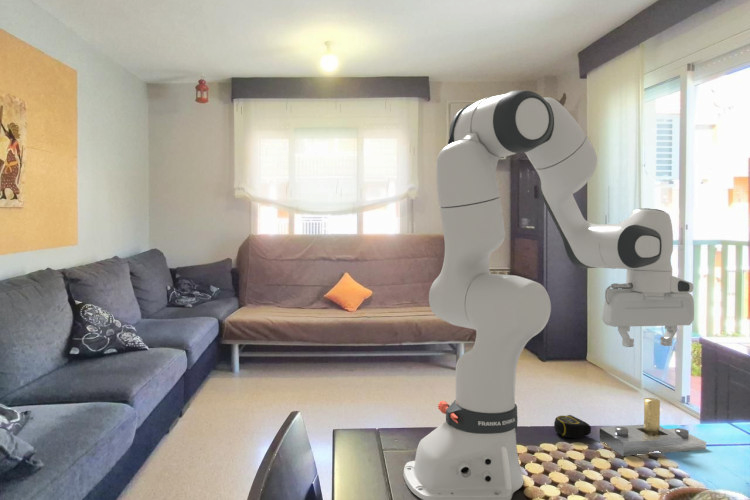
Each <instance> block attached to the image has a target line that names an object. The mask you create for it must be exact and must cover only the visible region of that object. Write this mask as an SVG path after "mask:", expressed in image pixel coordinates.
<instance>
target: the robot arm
mask: <svg viewBox="0 0 750 500" xmlns="http://www.w3.org/2000/svg"><path fill="white" fill-rule="evenodd" d="M448 133H449V134H448V135H449V138H448V141H447V145H446V146H444V147H443V148H442V149H441V150H440V151H439V152H438V155H437V158H436V189H437V190H436V191H437V198H438V205H439V211H440V219H441V226H442V233H443V239H444V257H443V264H442V268H441V271H440V273H439V275H438V276H437V277H436V278H435V279H434V281H433V282H432V284H431V285H430V288H429V292H428V303H429V308H430V310H431V312H432V313H433V315H435V316H436V317H437V318H439V320H440V319H441V320H442V321H444V322H447V323H448V324H450V325H453V326H456V327H460V328H461V327H462V328H464V329H465V328H467V329H471V330H475V333H476V334H475V335H476V336H475V341H474V344H473V347H472V349H471V350H469V351H467V352H465V353H464V354H462V355H461V356H460V357H458V359H457V361H456V363H455V399H454V401H452V402H451V404H449V403H448V402H447V401H445V400H441V401H439V403H438V404H437V407H438V410H439V411H440V412H441V413H442V414H444V415H445V421H443V422H442V423H441V424H440V425H439V426H437V427H436V428H435V429H434V430H432V431H431V432H429V433H428V434H427V435H425V436H424V437H423V438H421V439H420V441H419V443H418V445H417V448H416V452H415V460H412V461H411V460H410V461H408V462H406V463H405V465H404V468H403V479H404V482H405V484H406V486H407V487H408V489H409V490H410V491H411V492H412V493H413V494H414V495H415V496H416V497H418V498H419V499H420V500H512V498H513V495H514V493H515V492H516V491H518V490H519V489H521V488H522V487H523V485H524V475H523V474H522V470H521V465H520V461H519V455H518V448H517V432H518V420H519V419H518V418H519V417H518V406H517V404H516V381H517V379H516V378H517V369H518V363H519V359H520V357H521V354H522V353H523V350H524V348H525V347H526V345H527V343H529V341H531V339H533V337H535V336H537V335H538V334H540V333H541V332H542V331H543V330H544V328H545V327H546V326H547V324H548V322H549V319H550V318H551V317H550V316H551V313H552V305H551V304H552V303H551V299H550V295H549V294H548V292H547V290H546V288H545V286H544V285H543V284H541V283H539V282H538V281H534V280H532V279H529V278H525V277H523V276H519V275H512V274H500V273H491V271H490V258H491V255H492V253H494V252H496V250H497V249H499V248H500V247H501V246H502V244H503V243H504V240H505V238H506V229H505V228H506V227H505V222H504V221H505V220H504V215H503V207H502V202H501V196H500V190H499V184H498V180H497V179H498V178H497V167H498V162H499V159H500V158H503V157H509V156H513V155H516V154H523V153H524V154H525V155H526V156H527V159H528V160H529V162H530V163H531V165H532V166H533V168H534V169H535V171H536V173H537V175H538V177H539V179H540V180H539V185H538V187H539V194H540V195H541V198H542V201H543V203H544V205H545V207H546V209H547V211H548V213H549V215H550V217H551V219H552V221H553V222H554V225H555V226H556V229H557V230H558V232H559V235H560V237H561V239H562V242H563V246H564V250H565V253H566V255H567V258H568V259H569V261H570V262H571V263H572V264H573V265H574V266H576V267H578V268H581V269H596V268H597V269H599V268H601V269H612V270H614V269H621V270H623V269H624V270H626V274H625V275H626V276H625V277H626V278H625V279H626V282H625V283H624V282H623V283H611V284H610V285H609V286H607V287H606V288H605V291H604V302H603V306H602V307H603V308H602V315H601V317H602V318H601V320H602V321H603V323H604V324H605V325H606V326H608V327H609V326H610V327H613V328H614V327H615V328H617V331H618V334H619V335H620V337H621V338H622V343H621V344H622V346H623V347H624V348H634V345H635V344H634V343H635V342H634V341H635V338H631V337H630V335H629V332H630V331H631V327H664V329H665V333H664V335H663V336H660V338H659V339H660V345H661V346H663V347H671V346H672V345H673V338H674V337H675V335H676V333H677V332H678V326H691V324H692V323H693V322H694V320H695V319H694V318H695V301H694V297H693V295H692V294H691V293H693V291H694V283H693V282H690V281H688V280H685V279H682V278H679V277H677V276H674V275H673V265H672V263H671V257H672V254H673V251H674V237H673V236H674V234H673V233H674V232H673V224H672V220H671V217H670V214H669V213H668V212H666V211H665V210H664V211H663V210H662V209H658V208H648V207H647V208H642V207H641V208H636V209H633V210H632V211H631V212H630V216H629V217H627V218H626V219H624V220H623V221H622V220H621V221H620V222H619V223H606V224H605V223H604V224H603V223H602V224H599V223H597V224H596V223H594V222H590V221H589V220H586V219H585V217H584V216H583V214H582V212H581V209H580V208H579V206H578V204H577V201H576V198H575V197H574V194H575V193H577V192H579V191H580V190H581V189H582V188H584V186H585V185H586V184H587V183H588V182H589V181H590V180H591V179H592V177H593V176H594V173H595V171H596V169H597V165H598V156H597V153H596V151H595V148H594V146H593V144H592V142H591V141H590V139H589V137H588V136H587V135H586V133H585V132H584V130H583V128H582V127H581V126H580V125H579V123H578V122H577V120H576V119H575V118H574V116H573V115H572V114H571V113H570V112H569V111H568V110H567V108H566V107H565V106H564V105H563V104H561V102H559V101H558V100H556V99H555V98H553V97H550V96H549V97H548V96H547V97H545V96H544V97H543V96H541V95H540V94H538V93H537V92H534V91H531V90H527V89H520V90H519V89H518V90H512V91H508V92H507V93H503V94H498V95H491V96H487V97H485V98H483V99H480V100H477V101H475V102H474V103H469V104H468V105H465V106H464V107H463V108H461V109H459V111H457V113H456V114H455V115H454V117H453V118H452V120H451V123H450V126H449V132H448Z"/></svg>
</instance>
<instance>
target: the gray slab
mask: <svg viewBox="0 0 750 500" xmlns="http://www.w3.org/2000/svg"><path fill="white" fill-rule="evenodd" d="M599 442H600V443H602V442H604V443H606V444H607V445H608V446H610V448H609V449H611V448H612V449H613V450H612V449H611V450H612V451H614V450H615V451H614V452H616V453H617V452H618V453H617V454H619V455H620V454H621V456H622V457H624V456H625V457H628V456H627V455H636V456H638V455H637V454H646V453H649V452H654V451H659V452H662V453H661V454H667V453H678V452H689V451H699V450H707V441H705V440H703V439H701V438H699V437H696V436H694V435H692V434H691V433H689V430H687V429H684V428H680V427H675V428H664V427H662V426H660V429H659V436H649V435H647V434H645V433H644V424H634V425H632V424H631V425H621V426H620V425H619V426H608V427H599ZM608 446H607V447H608Z"/></svg>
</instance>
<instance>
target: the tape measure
mask: <svg viewBox="0 0 750 500" xmlns="http://www.w3.org/2000/svg"><path fill="white" fill-rule="evenodd" d="M553 426H554V427H553V428H554V430H555V432H556V433H557V434H559V435H560V436H562V437H565V438H572V439H579V438H583V437H586V436H589V435H590V434H591V433H592V426H591V425H590V424H589V423H588V422H586V421H583V420H582V419H579V417H576V416H574V415H572V414H567V415H557V417H556V418H555V419H554V423H553Z"/></svg>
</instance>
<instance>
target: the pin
mask: <svg viewBox="0 0 750 500" xmlns="http://www.w3.org/2000/svg"><path fill="white" fill-rule="evenodd" d="M643 402H644V403H643V406H644V407H643V409H644V410H643V411H644V412H643V425H644V433H645V434H647V435H649V436H659V429H660V427H661V426H660V424H661V423H660V418H661V413H660V412H661V411H660V409H661V400H660V399H659V398H658V399H657V398H653V397H645V398H644V399H643Z"/></svg>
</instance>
